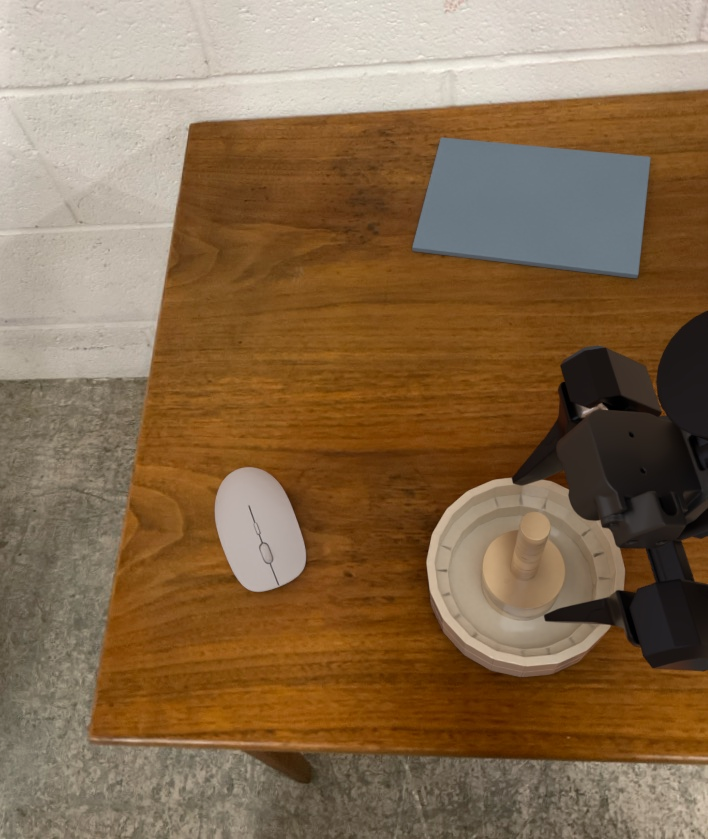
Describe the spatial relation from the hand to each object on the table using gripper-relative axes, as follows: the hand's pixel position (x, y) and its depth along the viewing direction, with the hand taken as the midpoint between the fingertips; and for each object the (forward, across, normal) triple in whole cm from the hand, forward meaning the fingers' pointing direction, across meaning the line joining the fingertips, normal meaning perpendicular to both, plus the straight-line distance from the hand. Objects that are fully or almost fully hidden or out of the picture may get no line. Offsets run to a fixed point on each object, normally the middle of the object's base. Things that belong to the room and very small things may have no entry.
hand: (531, 547), depth 51 cm
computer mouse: (+19, -7, -7) cm, 22 cm away
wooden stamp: (+6, 0, +5) cm, 8 cm away
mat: (0, -35, +12) cm, 37 cm away
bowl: (+6, 0, +6) cm, 8 cm away
